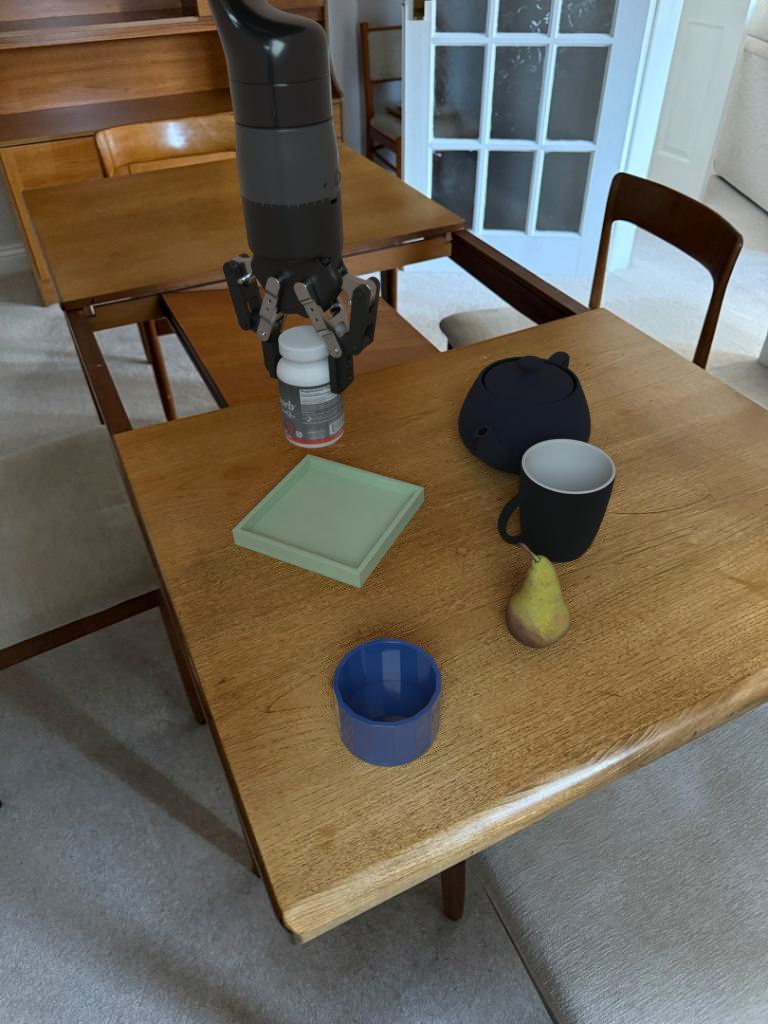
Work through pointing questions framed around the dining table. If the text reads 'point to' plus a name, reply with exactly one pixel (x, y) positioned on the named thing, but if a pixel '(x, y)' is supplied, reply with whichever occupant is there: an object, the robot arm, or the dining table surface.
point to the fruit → (538, 606)
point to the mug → (560, 498)
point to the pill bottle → (307, 390)
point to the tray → (330, 519)
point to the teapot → (522, 409)
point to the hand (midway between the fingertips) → (309, 381)
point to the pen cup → (387, 701)
